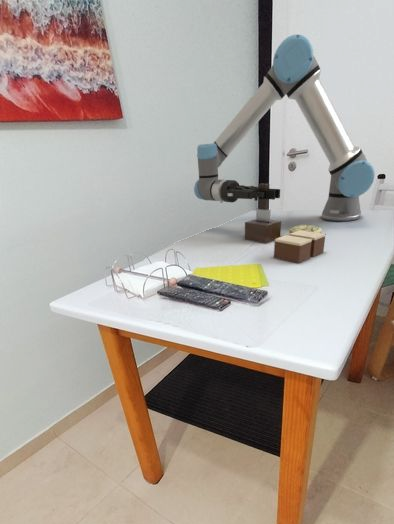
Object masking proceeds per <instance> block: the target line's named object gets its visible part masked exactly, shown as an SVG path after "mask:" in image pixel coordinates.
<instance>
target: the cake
mask: <svg viewBox="0 0 394 524" xmlns="http://www.w3.org/2000/svg"><path fill="white" fill-rule="evenodd" d="M288 235H289V236H295V237H301V238H307V239H312V241H311V251H310V258H315V257H316V256H318V255H319V256H320V255H321V254H324V249H325V242H326V233H322V232H321V233H316V232H309V231H303V230H299V231H296V232H293V233H291V234H290V233H289V234H288Z"/></svg>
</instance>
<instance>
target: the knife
mask: <svg viewBox="0 0 394 524" xmlns="http://www.w3.org/2000/svg"><path fill="white" fill-rule="evenodd" d="M258 187H259V190H260V189H261V190H269V189H270V183H263V182H262V183H258ZM257 201H258V202H257V203H258V205H257V208H256V215H255V216H256V218H255V219H256V221H257V222H264V223H270V220H271V209H269V208H270V199H260V198H258V200H257Z"/></svg>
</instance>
